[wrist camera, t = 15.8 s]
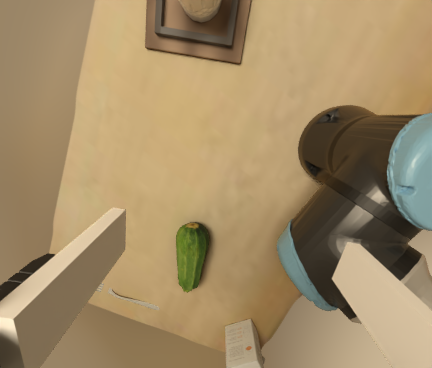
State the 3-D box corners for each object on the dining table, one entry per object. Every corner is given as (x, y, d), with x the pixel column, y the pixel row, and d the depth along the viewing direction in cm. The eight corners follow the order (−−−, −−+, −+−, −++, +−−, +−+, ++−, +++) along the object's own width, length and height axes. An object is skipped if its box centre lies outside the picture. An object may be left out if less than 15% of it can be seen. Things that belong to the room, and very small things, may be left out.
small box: (232, 338, 59) (234, 383, 49) (224, 325, 58) (225, 368, 48) (257, 331, 58) (265, 375, 48) (251, 317, 57) (257, 360, 47)
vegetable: (199, 239, 39) (189, 313, 46) (217, 224, 45) (205, 292, 52) (170, 225, 42) (164, 297, 49) (190, 213, 48) (182, 278, 55)
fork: (166, 314, 58) (164, 320, 56) (82, 284, 55) (78, 289, 53) (170, 307, 57) (168, 313, 55) (85, 275, 54) (81, 280, 52)
